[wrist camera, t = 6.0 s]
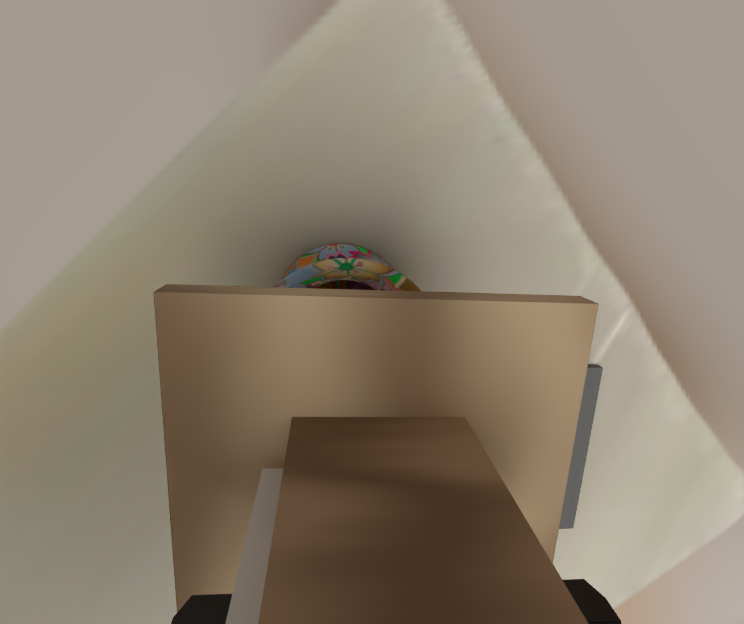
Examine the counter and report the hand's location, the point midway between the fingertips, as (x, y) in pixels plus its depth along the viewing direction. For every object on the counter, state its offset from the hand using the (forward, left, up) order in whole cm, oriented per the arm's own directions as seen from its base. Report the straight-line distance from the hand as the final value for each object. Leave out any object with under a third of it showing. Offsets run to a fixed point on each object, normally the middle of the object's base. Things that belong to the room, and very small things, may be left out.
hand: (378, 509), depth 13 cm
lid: (0, 0, -2) cm, 2 cm away
